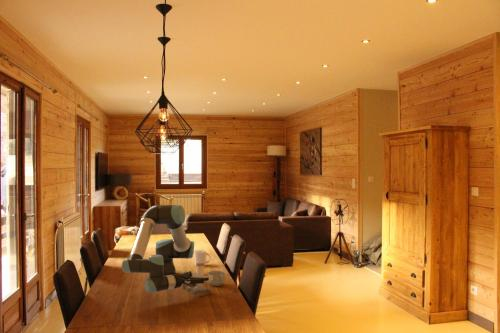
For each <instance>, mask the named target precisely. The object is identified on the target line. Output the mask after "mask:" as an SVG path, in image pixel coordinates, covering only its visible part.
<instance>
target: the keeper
mask: <svg viewBox="0 0 500 333" xmlns="http://www.w3.org/2000/svg"><path fill="white" fill-rule="evenodd" d="M196 265H197V266H196V272H197V277H196V278H202V277H205V271H204V270H205V266H204V263H196ZM194 289H196V290H198V291H200V292H202V291H206V290H207V289H208V288H207V287H206V286H205V283H204V284H202V283H200V284H197V286H196V287H194Z"/></svg>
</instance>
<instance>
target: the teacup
mask: <svg viewBox="0 0 500 333" xmlns="http://www.w3.org/2000/svg"><path fill="white" fill-rule="evenodd" d="M210 275H213V280H211V281H207V282H208V283H209V285H211V286H212V287H213V286H214V287H220V286H222V285H224V283H225V281H226V271H223V270H211V271H208V272H207V276H210Z"/></svg>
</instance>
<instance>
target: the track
mask: <svg viewBox="0 0 500 333" xmlns="http://www.w3.org/2000/svg"><path fill="white" fill-rule="evenodd" d="M196 286H197V284H189V285H186V284H184V283H183V284H182V286H181V288H182V290H184V291H186V292H189V293H191V294H193V295H195V296H197V297H202V296H207V295H211V294H212V290H211V289H210V288H207V290H206V291H202V292H200V291H198V290H196V289H194V287H196Z"/></svg>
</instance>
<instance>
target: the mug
mask: <svg viewBox="0 0 500 333" xmlns="http://www.w3.org/2000/svg"><path fill="white" fill-rule="evenodd" d="M207 256H208V257H209V260H207ZM193 258H194V262H193V263H194V266H195V267H197V265H196V263H204V267H205V266H206V265H207V264H209V263H210V261H211V259H212V257H211V254H209V253H208V252H207V250H204V249H197V250H194V253H193Z"/></svg>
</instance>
